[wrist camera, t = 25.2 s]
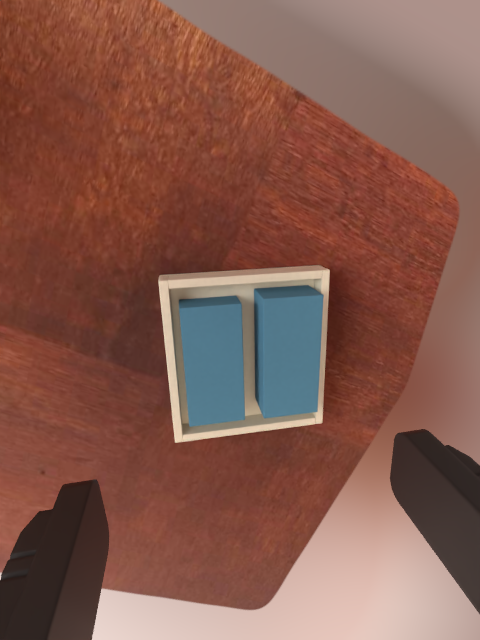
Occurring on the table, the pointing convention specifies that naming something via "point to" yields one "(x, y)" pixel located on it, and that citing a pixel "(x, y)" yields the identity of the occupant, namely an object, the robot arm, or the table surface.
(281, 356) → the blue rectangular block
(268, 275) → the cream tray
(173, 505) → the table surface
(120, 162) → the table surface
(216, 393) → the blue brick
